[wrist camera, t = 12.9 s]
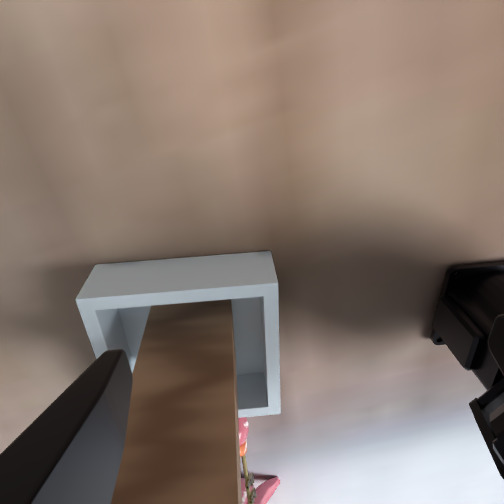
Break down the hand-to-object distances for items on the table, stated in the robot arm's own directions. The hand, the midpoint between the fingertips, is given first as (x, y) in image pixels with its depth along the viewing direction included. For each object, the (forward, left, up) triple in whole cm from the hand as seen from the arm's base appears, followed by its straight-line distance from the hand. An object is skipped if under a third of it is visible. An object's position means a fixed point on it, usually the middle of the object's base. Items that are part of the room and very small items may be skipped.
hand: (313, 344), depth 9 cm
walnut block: (+5, +10, -12) cm, 17 cm away
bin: (+5, +10, -13) cm, 17 cm away
